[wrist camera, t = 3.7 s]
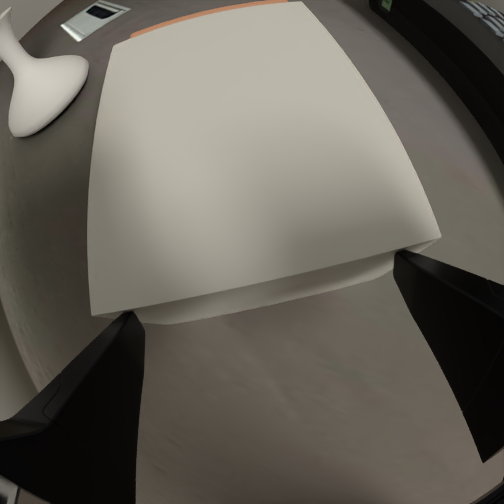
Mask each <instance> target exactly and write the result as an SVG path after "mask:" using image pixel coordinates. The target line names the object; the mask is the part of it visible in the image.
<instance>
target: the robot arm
mask: <svg viewBox="0 0 504 504" xmlns="http://www.w3.org/2000/svg"><path fill="white" fill-rule="evenodd" d="M393 276H394V279H395V281H396V283H397V285H398V288H399V290H400V292H401V294H402V296H403V298H404V300H405V302H406V305H407V307H408V309H409V311H410V313H411V315H412V317H413V318H414V320H415V322H416V323H417V325H418V327H419V329H420V330H421V332H422V334H423V336H424V337H425V339H426V341H427V343H428V345H429V346H430V348H431V350H432V352H433V354H434V356H435V358H436V359H437V361H438V363H439V365H440V367H441V369H442V371H443V373H444V375H445V377H446V379H447V381H448V383H449V385H450V387H451V389H452V391H453V393H454V395H455V398H456V400H457V402H458V404H459V406H460V408H461V411H463V412H462V413H463V416H464V418H465V420H466V422H467V425H468V427H469V430H470V432H471V434H472V437H473V439H474V442H475V444H476V447H477V450H478V452H479V455H480V458H481V460H482V462H483V463H485V462H486V461H487V460H489V459H490V458H492V457H493V456H495V455H496V454H497V453H499V452H500V451H501V450H503V449H504V285H501V284H499V283H496V282H493V281H491V280H487V279H486V278H483V277H481V276H478V275H475V274H473V273H470V272H467V271H465V270H462V269H459V268H457V267H454V266H451V265H449V264H446V263H443V262H440V261H437V260H435V259H432V258H429V257H426V256H423V255H420V254H418V253H415V252H412V251H409V250H401V251H398V252H396V253H395V254H394V266H393ZM144 358H145V330H144V328H143V326H142V324H141V322H140V321H139V319H138V317H137V315H136V314H135V313H134V312H133V311H129V312H124V313H122V314H121V315H120V316H119V317H117V318H116V319H115V320H114V321H113V322H112V323H111V324H110V325H109V326H108V327H107V328H106V329H105V330H104V331H103V332H101V333H100V334H99V335H98V336H97V337H96V338H95V339H94V340H93V341H92V342H91V343H90V344H89V345H88V346H87V347H86V348H85V349H84V350H83V351H82V352H81V353H80V354H79V355H78V356H77V357H75V358H74V359H73V360H72V361H71V362H70V363H69V364H68V365H67V366H66V367H65V368H64V369H63V370H62V371H61V374H60V373H59V374H58V375H57V376H56V377H55V378H54V379H53V380H52V381H51V382H50V383H49V384H48V385H47V386H46V387H45V388H44V389H43V390H42V391H41V392H40V393H39V394H38V395H37V396H35V397H34V398H33V399H32V400H31V401H30V402H29V403H28V404H26V405H25V406H24V407H23V408H22V409H21V410H20V411H19V412H18V413H16V414H15V415H14V416H13V417H11V418H10V419H7V420H4V421H0V504H136V480H135V479H136V457H137V440H138V426H139V414H140V404H141V394H142V385H143V377H144ZM470 504H504V478H503V480H502V482H501V483H500V484H498V485H497V486H496V487H494V488H493V489H491V490H490V491H489V492H487V493H486V494H484V495H483V496H481V497H480V498H478V499H477V500H475V501H474V502H472V503H470Z"/></svg>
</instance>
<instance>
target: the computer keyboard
mask: <svg viewBox="0 0 504 504" xmlns="http://www.w3.org/2000/svg"><path fill="white" fill-rule="evenodd" d="M369 5H370V8H371V9H372V10H373V11H374V12H375V13H377V14H378V15H379V16H380V17H381V18H383V19H384V20H385V21H386V22H387V23H389V24H390V25H391V26H392V27H393V28H394V29H396V30H397V31H398V32H399V33H400V34H401V35H402V36H403V37H404V38H405V39H407V40H408V41H409V42H410V43H411V44H412V45H413V46H414V47H415V48H416V49H417V50H418V51H419V52H420V53H421V54H422V55H423V56H424V57H425V58H426V59H427V60H428V61H429V62H430V64H431V65H432V66H433V67H434V68H435V69H436V70H437V71H438V72H439V73H440V75H441V76H442V77H443V78H444V79H445V80H446V81H447V83H448V84H449V85H450V86H451V87H452V89H453V90H454V91H455V92H456V94H457V95H458V96H459V97H460V99H461V100H462V101H463V103H464V104H465V105H466V107H467V108H468V109H469V111H470V112H471V113H472V115H473V116H474V118H475V119H476V120H477V122H478V123H479V125H480V126H481V128H482V129H483V131H484V132H485V134H486V135H487V137H488V139H489V140H490V142H491V143H492V145H493V147H494V148H495V150H496V152H497V153H498V155H499V157H500V159H501V160H502V162H503V164H504V14H502V13H501V12H499V11H497V10H494V9H493V8H490V7H487V6H485V5H483V4H481V3H479V2H475V1H472V0H369Z"/></svg>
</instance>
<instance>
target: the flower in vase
mask: <svg viewBox="0 0 504 504" xmlns="http://www.w3.org/2000/svg"><path fill="white" fill-rule="evenodd" d="M11 9H12V7H10V8H8V9H7V10H6V11H4V12H3V13H2V14H1V15H0V58H1V59H2V60H3V61H4V62H5V63H6V64H7V65H8V67H9V68H10V69H11V71H12V73H13V75H14V80H15V81H14V90H13V95H12V99H11V104H10V110H9V128H10V131H11V133H12V135H13V136H15V137H26V136H29V135H32V134H34V133H36V132H38V131H39V130H41V129H42V128H44V127H45V126H46V125H48V124H49V123H50V122H51V121H52V120H54V119H55V118H56V117H57V116H58V115H59V114H60V113H61V112H62V111H63V110H64V109H65V108H66V107H67V106H68V105H69V104H70V102H71V101H72V100H73V99H74V98H75V96H76V95H77V94H78V92H79V91H80V89H81V88H82V86H83V85H84V83H85V81H86V78H87V75H88V68H89V63H88V61H87V60H86V59H84V58H82V57H81V56H76V55H65V56H57V57H51V58H43V59H36V58H34V57H31V56H30V55H29V54H28V53H27V52H26V51H25V50H24V49H23V48H22V46H21V45H20V43H19V42H18V40H17V38H16V36H15V35H14V32H13V30H12V26H11V21H10V18H11V16H10V15H11Z"/></svg>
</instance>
